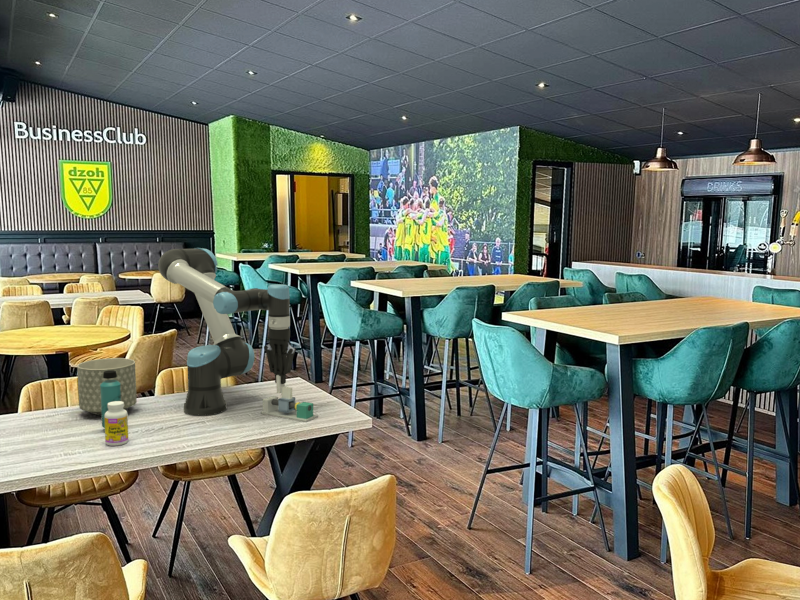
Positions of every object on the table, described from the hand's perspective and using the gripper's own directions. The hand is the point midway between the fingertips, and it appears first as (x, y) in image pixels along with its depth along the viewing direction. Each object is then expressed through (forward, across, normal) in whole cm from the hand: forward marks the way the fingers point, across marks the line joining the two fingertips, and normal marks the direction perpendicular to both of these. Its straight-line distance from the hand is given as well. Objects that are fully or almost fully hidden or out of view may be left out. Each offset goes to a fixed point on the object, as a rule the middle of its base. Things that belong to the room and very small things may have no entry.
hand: (280, 392), depth 236 cm
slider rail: (+8, +4, 0) cm, 9 cm away
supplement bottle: (+8, -25, -50) cm, 57 cm away
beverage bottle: (+8, -37, -42) cm, 57 cm away
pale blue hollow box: (+6, +3, 0) cm, 7 cm away
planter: (+8, -55, -30) cm, 63 cm away
